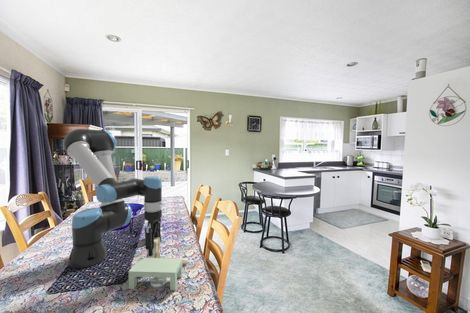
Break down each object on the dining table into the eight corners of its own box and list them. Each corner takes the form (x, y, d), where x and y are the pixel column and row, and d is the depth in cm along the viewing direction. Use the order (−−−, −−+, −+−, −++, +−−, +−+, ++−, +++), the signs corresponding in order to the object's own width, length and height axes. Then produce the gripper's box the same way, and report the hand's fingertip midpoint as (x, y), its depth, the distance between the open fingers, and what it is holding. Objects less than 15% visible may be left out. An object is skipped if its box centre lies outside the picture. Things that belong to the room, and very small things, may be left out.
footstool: (128, 288, 84) (128, 271, 83) (140, 273, 94) (140, 257, 93) (175, 290, 83) (175, 272, 83) (182, 274, 93) (182, 258, 93)
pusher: (185, 265, 100) (185, 242, 99) (147, 264, 101) (146, 241, 100) (188, 260, 105) (188, 238, 104) (151, 259, 105) (150, 237, 104)
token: (148, 288, 85) (148, 284, 85) (154, 279, 91) (154, 275, 91) (163, 289, 85) (163, 285, 84) (168, 279, 91) (168, 275, 90)
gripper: (153, 216, 92) (154, 269, 94) (167, 204, 110) (167, 249, 111) (136, 216, 93) (136, 269, 94) (152, 204, 110) (153, 249, 112)
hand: (153, 258), depth 103 cm, fingers closed on pusher, 4 cm apart
